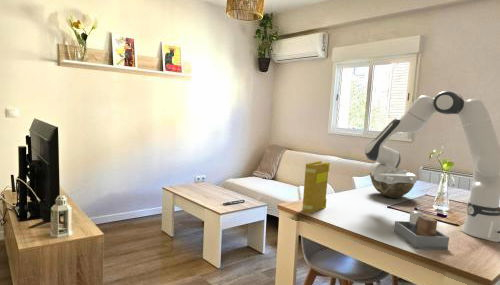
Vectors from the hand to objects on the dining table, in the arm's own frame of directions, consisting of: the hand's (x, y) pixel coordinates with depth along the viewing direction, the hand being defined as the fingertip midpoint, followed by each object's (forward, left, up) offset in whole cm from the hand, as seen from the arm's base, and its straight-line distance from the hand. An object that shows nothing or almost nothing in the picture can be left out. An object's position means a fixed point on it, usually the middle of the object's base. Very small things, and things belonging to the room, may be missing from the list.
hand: (402, 181), depth 157 cm
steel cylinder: (0, +14, -21) cm, 25 cm away
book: (+37, -20, -22) cm, 47 cm away
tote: (0, +18, -22) cm, 28 cm away
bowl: (-22, -54, -22) cm, 63 cm away
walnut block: (0, +22, -21) cm, 30 cm away
